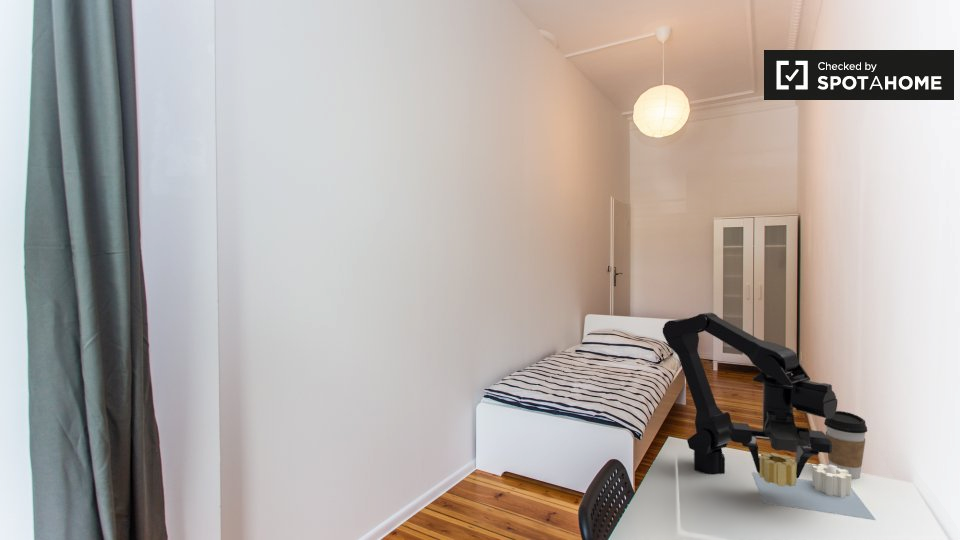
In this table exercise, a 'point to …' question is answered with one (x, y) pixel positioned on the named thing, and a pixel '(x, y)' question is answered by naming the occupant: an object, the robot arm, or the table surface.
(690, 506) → the table surface
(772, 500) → the gear board
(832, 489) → the cream gear
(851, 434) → the coffee cup
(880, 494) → the table surface
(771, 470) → the brass gear
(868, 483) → the table surface
